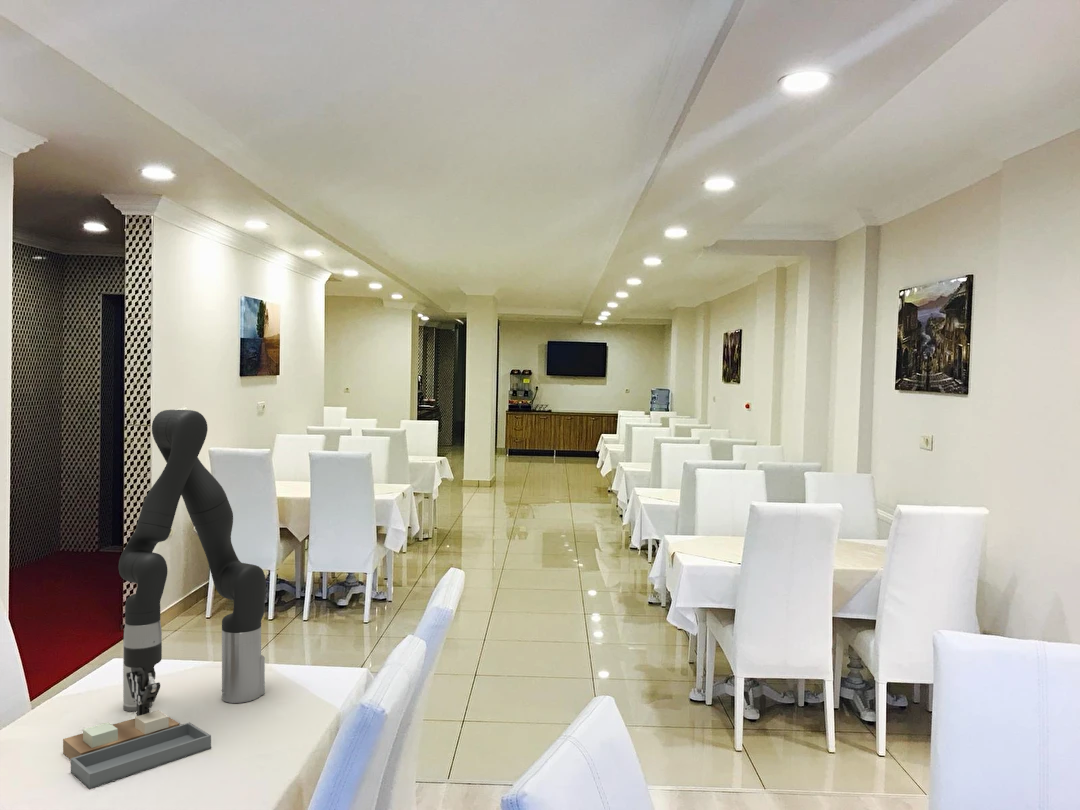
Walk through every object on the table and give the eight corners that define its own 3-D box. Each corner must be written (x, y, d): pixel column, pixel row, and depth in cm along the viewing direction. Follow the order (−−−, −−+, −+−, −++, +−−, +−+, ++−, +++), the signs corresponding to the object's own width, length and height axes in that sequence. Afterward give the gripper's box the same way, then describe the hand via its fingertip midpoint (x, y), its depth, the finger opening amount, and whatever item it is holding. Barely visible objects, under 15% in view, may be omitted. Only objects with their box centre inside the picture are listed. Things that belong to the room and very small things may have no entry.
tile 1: (108, 733, 174) (108, 722, 174) (117, 740, 171) (117, 728, 171) (83, 740, 170) (83, 729, 170) (92, 747, 167) (92, 736, 167)
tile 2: (158, 720, 181) (158, 710, 181) (168, 727, 177) (168, 716, 177) (135, 727, 177) (135, 716, 177) (145, 734, 174) (145, 723, 174)
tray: (189, 734, 181) (189, 722, 180) (211, 748, 174) (211, 735, 174) (70, 772, 163) (70, 758, 163) (89, 789, 156) (89, 774, 156)
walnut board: (159, 724, 186) (159, 711, 186) (179, 737, 179) (179, 723, 179) (63, 753, 171) (63, 739, 171) (80, 768, 164) (80, 753, 164)
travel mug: (141, 713, 192) (141, 628, 192) (117, 710, 194) (117, 627, 193) (159, 703, 198) (159, 621, 198) (135, 700, 200) (135, 619, 199)
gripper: (173, 644, 178) (173, 723, 178) (148, 631, 187) (148, 706, 187) (137, 652, 172) (137, 733, 173) (113, 639, 181) (113, 716, 182)
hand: (143, 719), depth 180 cm, fingers closed
